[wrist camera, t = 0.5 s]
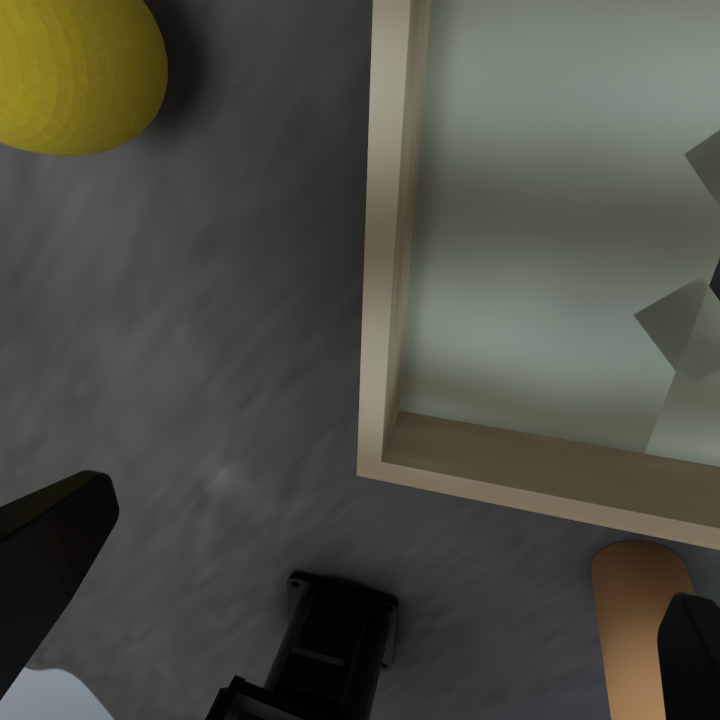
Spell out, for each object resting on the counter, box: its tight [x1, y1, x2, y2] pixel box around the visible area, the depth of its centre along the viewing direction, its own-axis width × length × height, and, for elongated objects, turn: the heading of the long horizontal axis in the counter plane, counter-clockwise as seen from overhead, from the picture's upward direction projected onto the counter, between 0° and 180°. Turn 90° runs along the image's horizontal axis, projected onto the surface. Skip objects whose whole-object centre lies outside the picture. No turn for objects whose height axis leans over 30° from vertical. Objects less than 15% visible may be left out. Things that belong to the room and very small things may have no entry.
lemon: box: [0, 0, 168, 156], centre depth 15 cm, size 6×6×8 cm
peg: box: [590, 541, 695, 720], centre depth 21 cm, size 4×4×8 cm
